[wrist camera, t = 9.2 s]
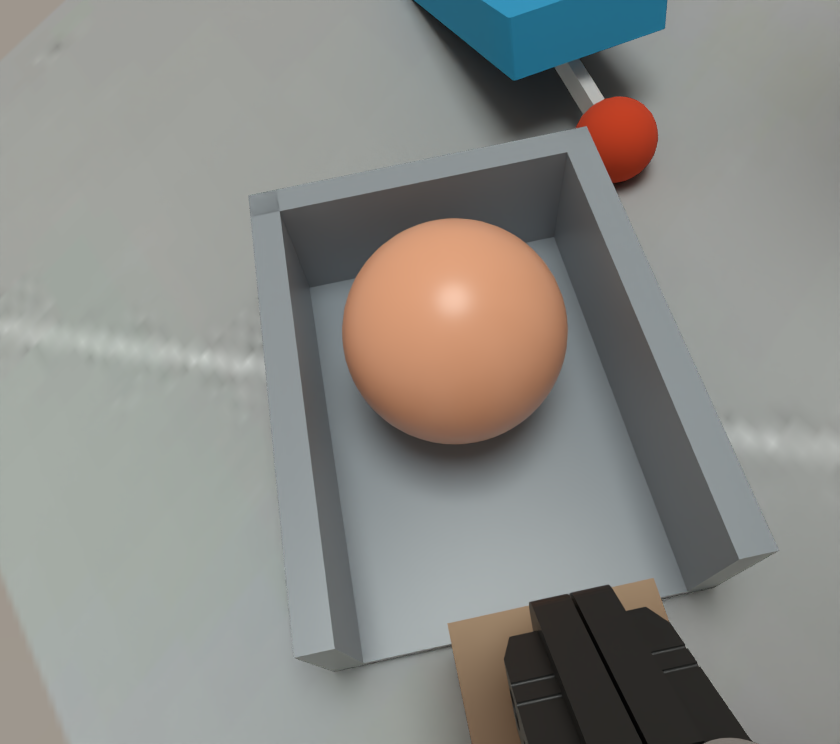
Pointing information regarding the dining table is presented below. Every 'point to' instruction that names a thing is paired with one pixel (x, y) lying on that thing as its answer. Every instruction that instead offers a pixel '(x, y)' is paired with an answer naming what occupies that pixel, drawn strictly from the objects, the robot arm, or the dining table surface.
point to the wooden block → (485, 670)
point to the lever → (567, 59)
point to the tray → (502, 455)
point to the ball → (454, 331)
